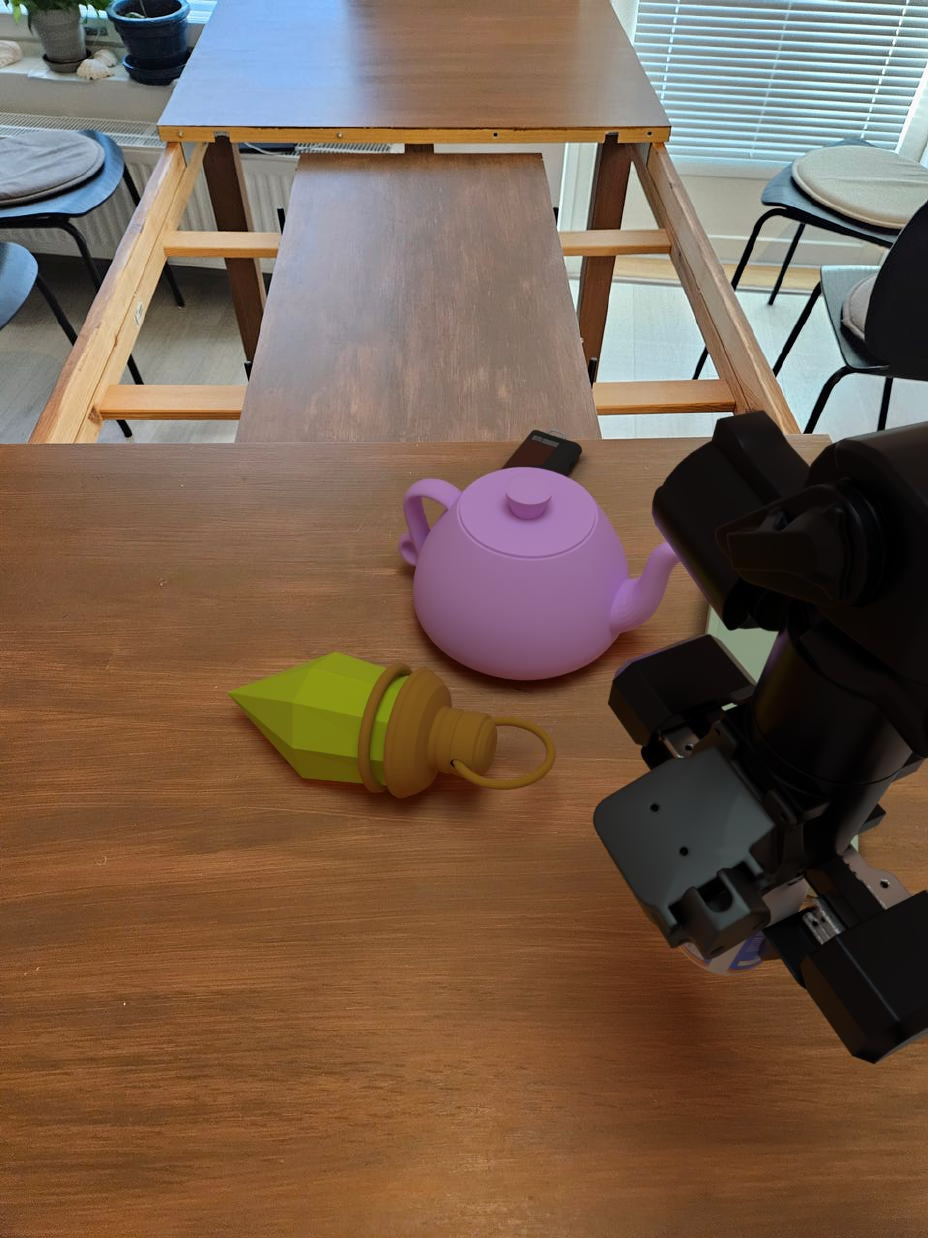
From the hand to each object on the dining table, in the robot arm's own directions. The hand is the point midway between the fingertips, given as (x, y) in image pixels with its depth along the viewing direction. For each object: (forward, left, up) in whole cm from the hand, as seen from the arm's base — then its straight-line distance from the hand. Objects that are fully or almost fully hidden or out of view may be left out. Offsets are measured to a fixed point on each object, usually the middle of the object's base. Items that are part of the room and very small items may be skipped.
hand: (732, 901), depth 44 cm
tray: (+23, -4, -13) cm, 26 cm away
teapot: (+28, +16, -13) cm, 35 cm away
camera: (+45, +20, -13) cm, 51 cm away
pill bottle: (0, 0, -3) cm, 3 cm away
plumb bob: (+11, +23, -13) cm, 29 cm away
